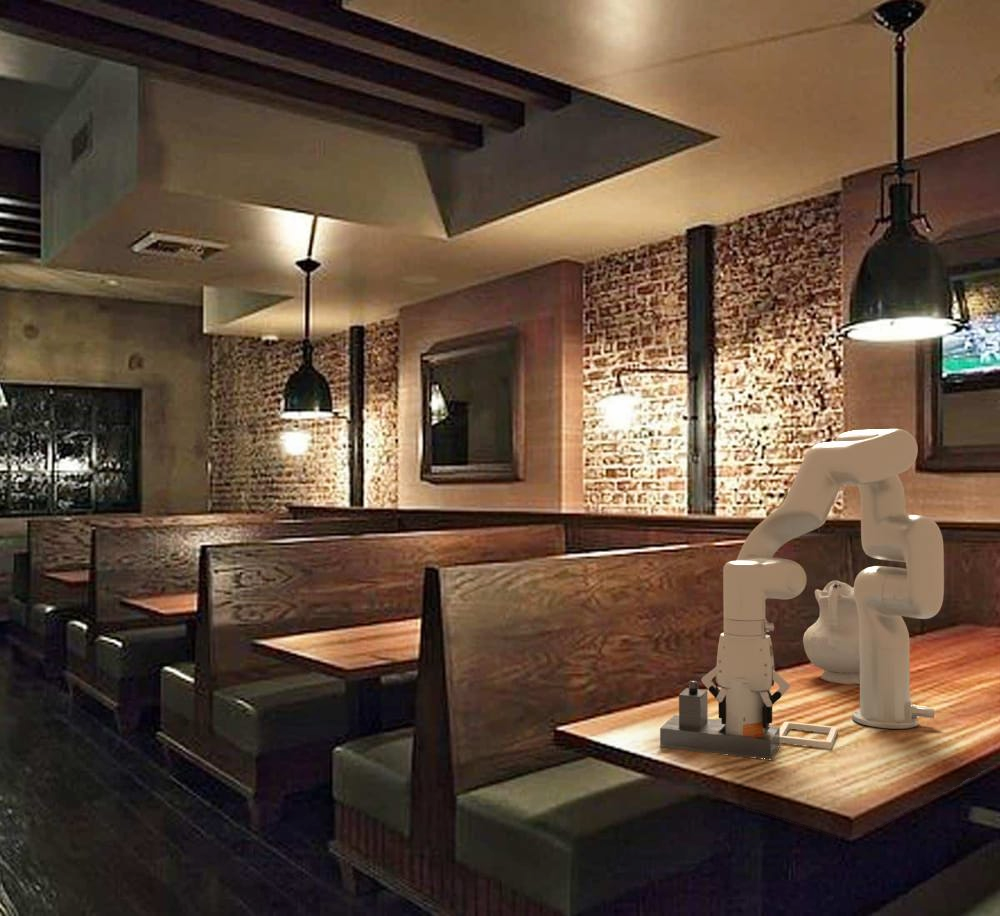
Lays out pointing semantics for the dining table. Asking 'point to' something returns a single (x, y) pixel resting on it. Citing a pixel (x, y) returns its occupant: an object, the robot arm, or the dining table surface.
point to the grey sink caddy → (711, 730)
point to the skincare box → (744, 710)
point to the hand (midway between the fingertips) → (745, 723)
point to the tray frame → (806, 741)
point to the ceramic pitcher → (835, 635)
